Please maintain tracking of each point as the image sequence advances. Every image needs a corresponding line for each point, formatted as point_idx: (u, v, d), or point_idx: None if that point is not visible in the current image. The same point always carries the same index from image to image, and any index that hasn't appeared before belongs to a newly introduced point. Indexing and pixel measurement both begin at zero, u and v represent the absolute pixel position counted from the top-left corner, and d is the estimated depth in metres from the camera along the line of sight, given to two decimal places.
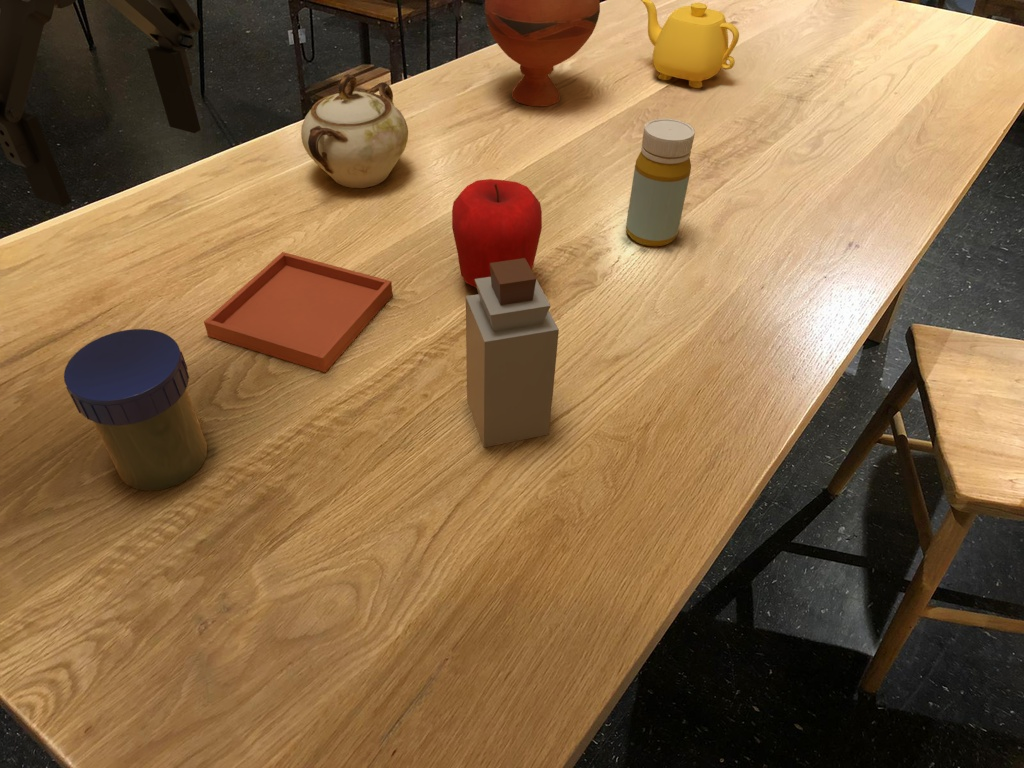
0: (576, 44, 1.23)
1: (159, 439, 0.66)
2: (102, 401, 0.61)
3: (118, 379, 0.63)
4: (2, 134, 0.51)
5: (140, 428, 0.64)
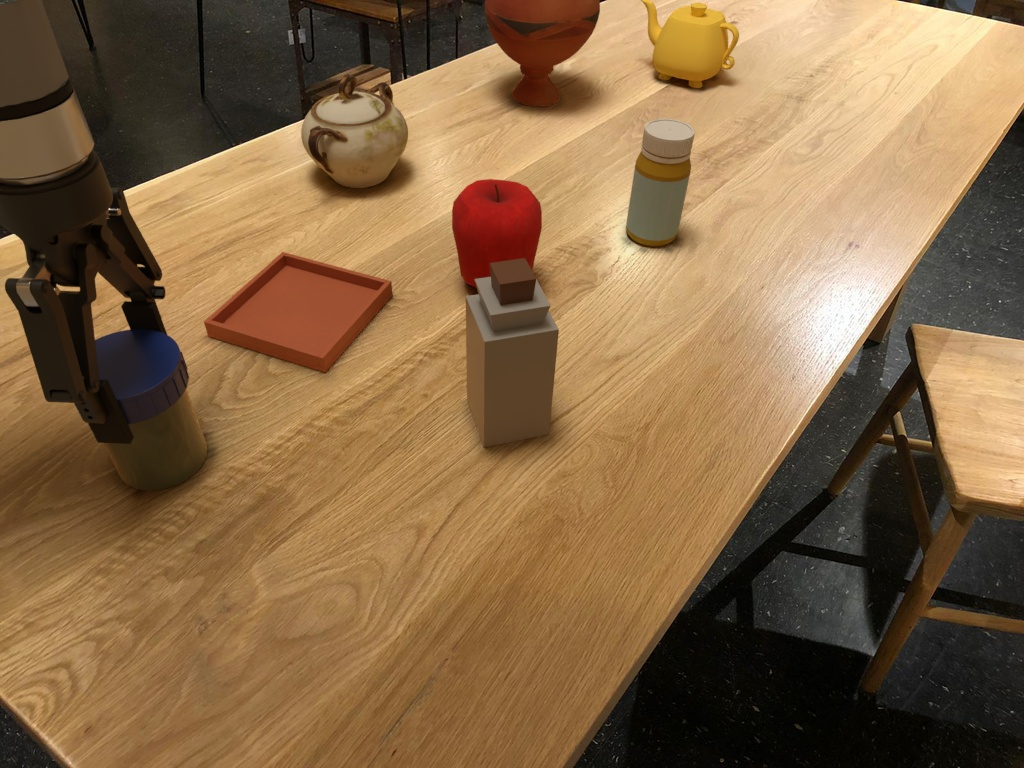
0: (576, 44, 1.23)
1: (159, 439, 0.66)
2: None
3: (118, 379, 0.63)
4: None
5: (140, 428, 0.64)
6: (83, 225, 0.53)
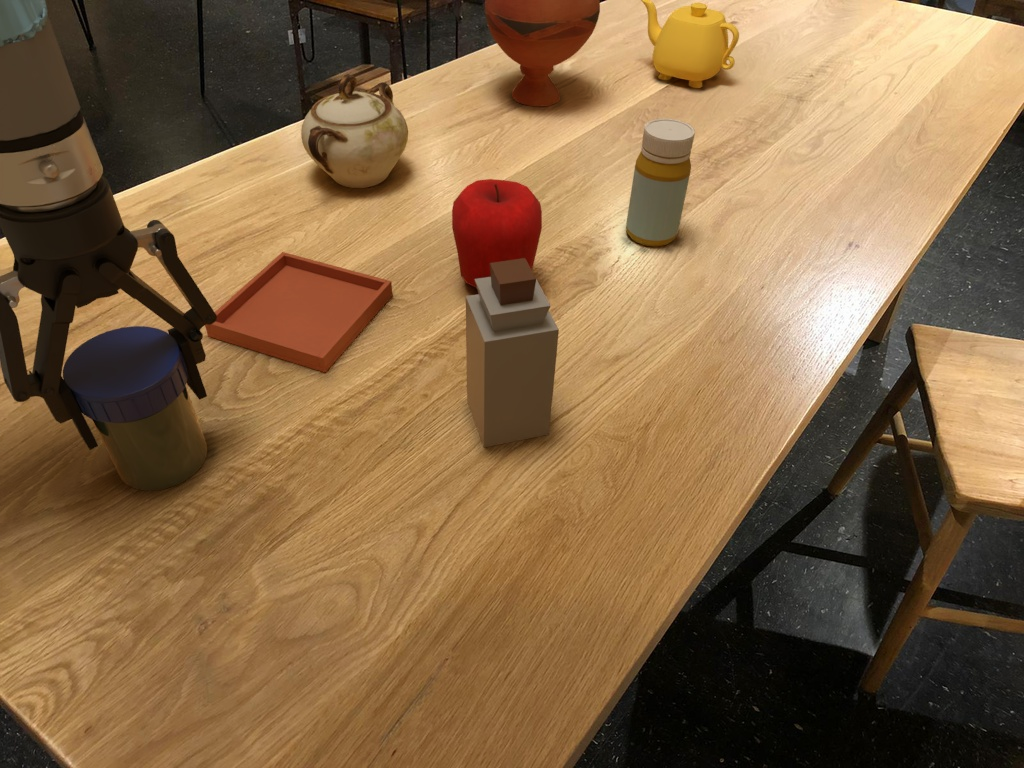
0: (576, 44, 1.23)
1: (159, 439, 0.66)
2: None
3: (143, 347, 0.65)
4: None
5: (140, 428, 0.64)
6: None
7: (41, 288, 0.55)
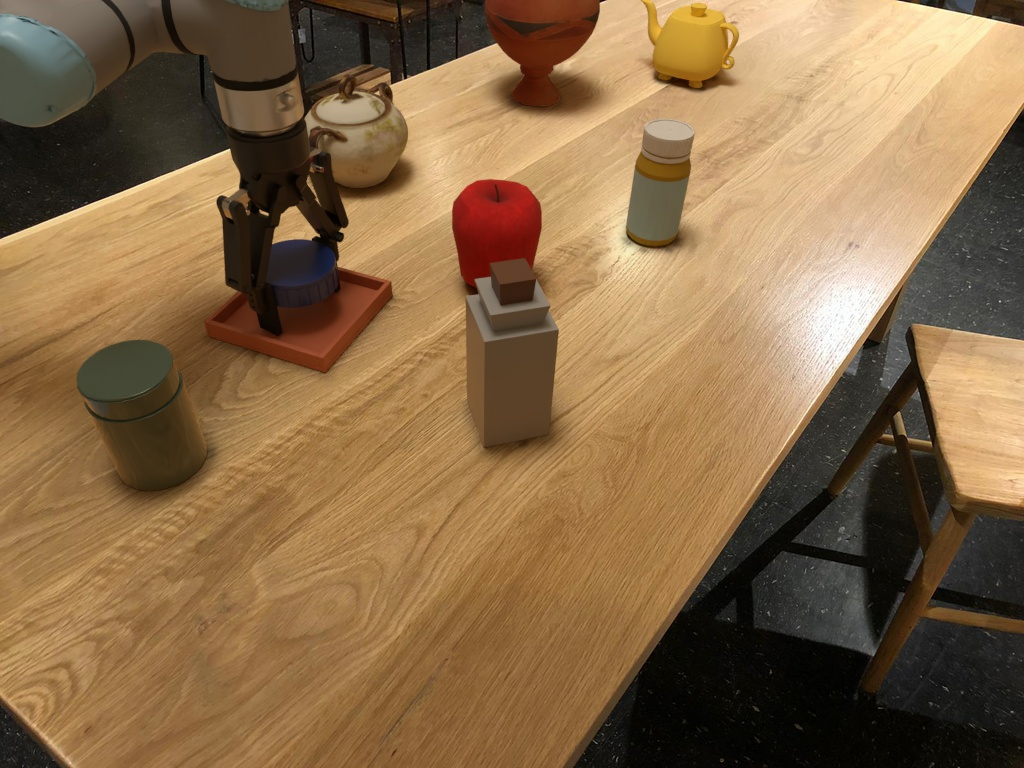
0: (576, 44, 1.23)
1: (159, 439, 0.66)
2: (320, 243, 0.87)
3: (302, 252, 0.85)
4: (250, 295, 0.80)
5: (140, 428, 0.64)
6: None
7: (262, 199, 0.75)
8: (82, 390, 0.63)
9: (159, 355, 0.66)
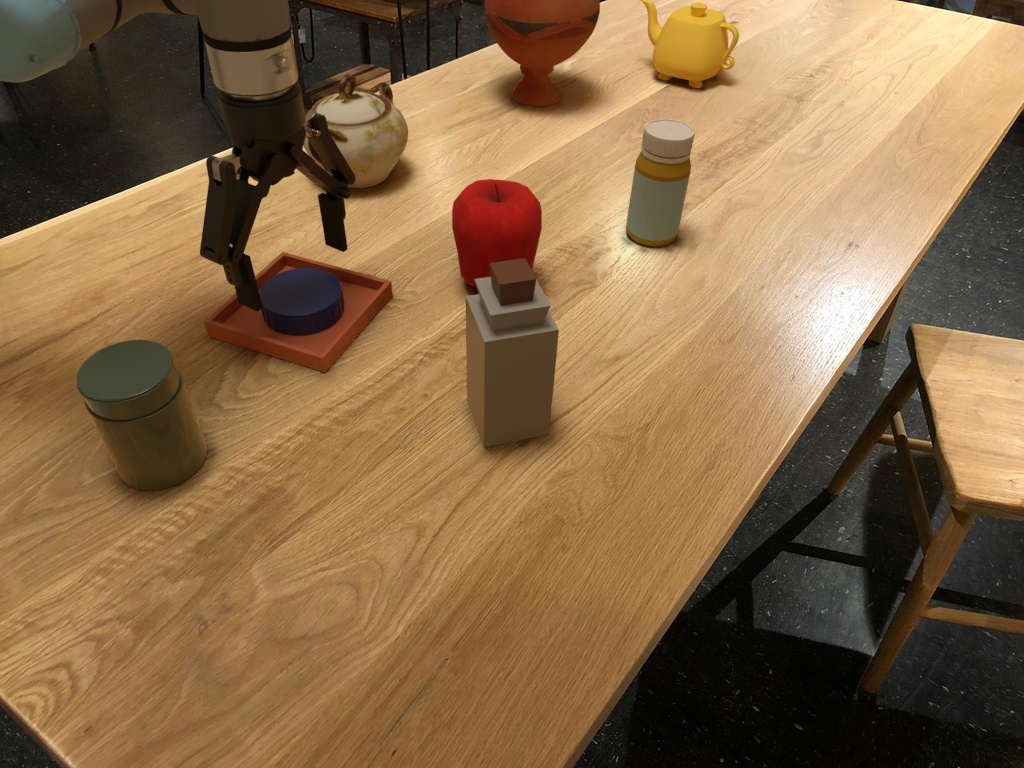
0: (576, 44, 1.23)
1: (159, 439, 0.66)
2: (326, 271, 0.90)
3: (309, 281, 0.88)
4: (227, 267, 0.76)
5: (140, 428, 0.64)
6: None
7: (255, 168, 0.73)
8: (82, 390, 0.63)
9: (159, 355, 0.66)
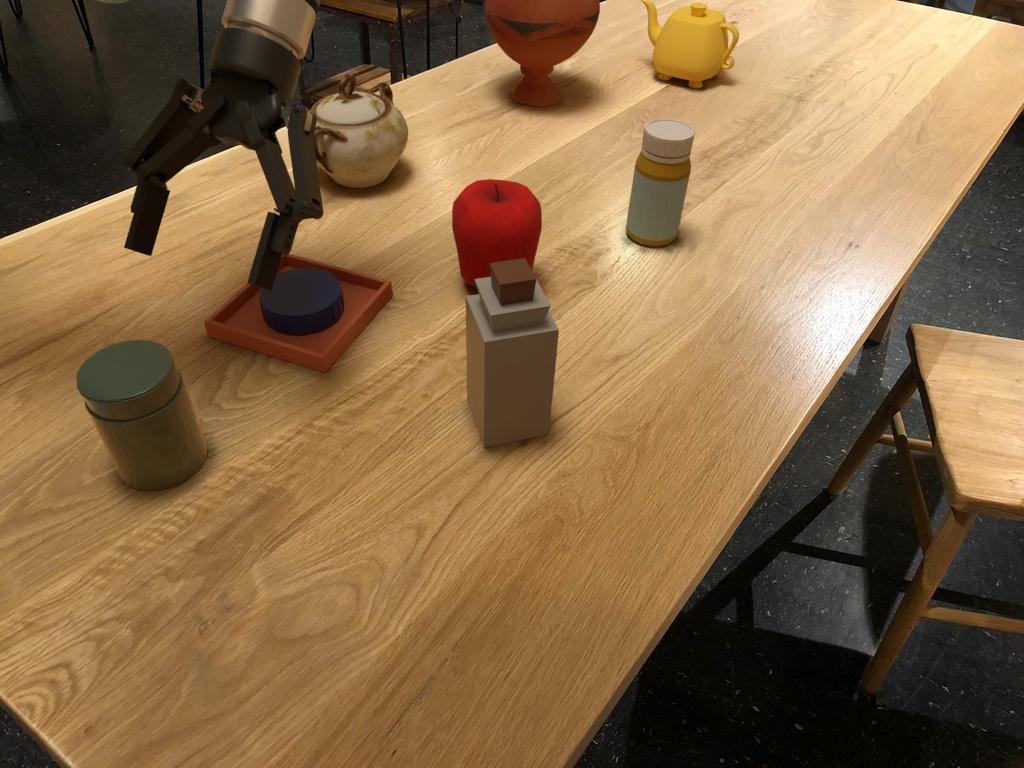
0: (576, 44, 1.23)
1: (159, 439, 0.66)
2: (326, 271, 0.90)
3: (309, 281, 0.88)
4: (291, 229, 0.67)
5: (140, 428, 0.64)
6: (211, 64, 0.67)
7: None
8: (82, 390, 0.63)
9: (159, 355, 0.66)
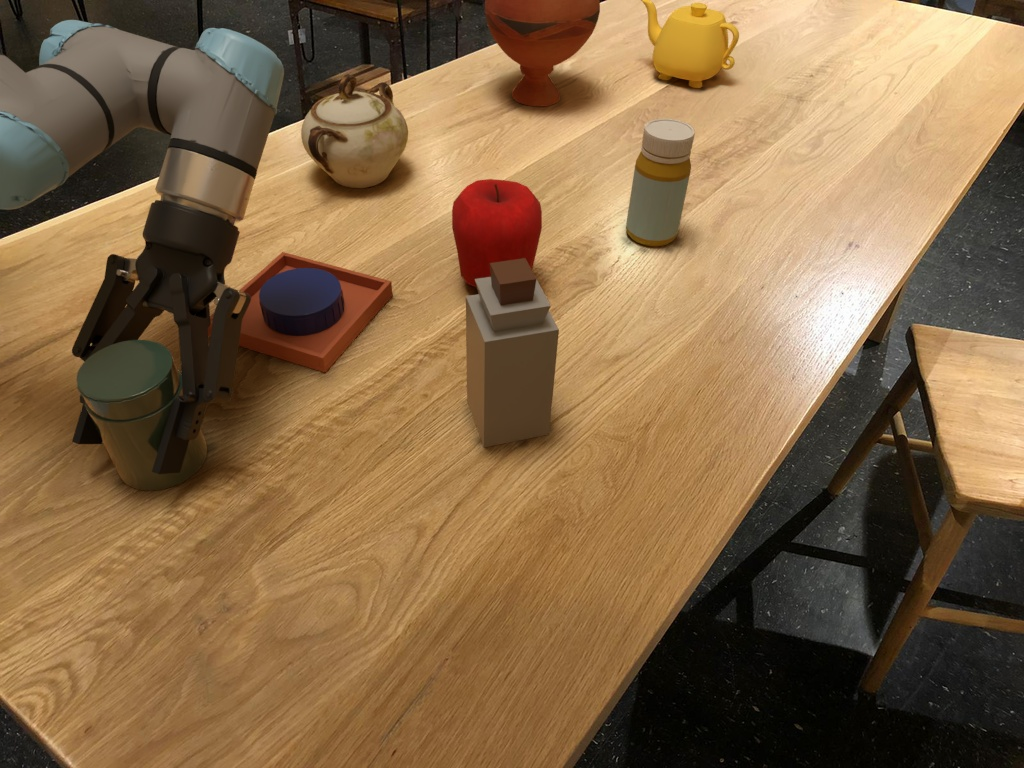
0: (576, 44, 1.23)
1: (159, 439, 0.66)
2: (326, 271, 0.90)
3: (309, 281, 0.88)
4: (197, 414, 0.66)
5: (140, 428, 0.64)
6: (143, 236, 0.66)
7: None
8: (82, 390, 0.63)
9: (159, 355, 0.66)
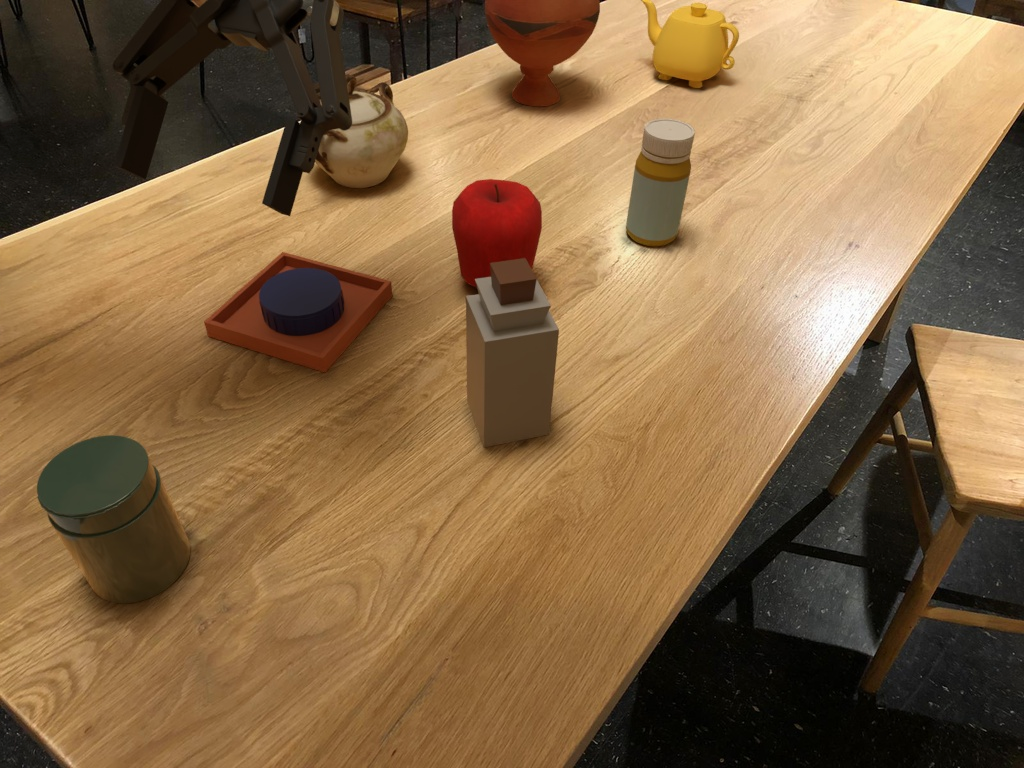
0: (576, 44, 1.23)
1: (133, 551, 0.58)
2: (326, 271, 0.90)
3: (309, 281, 0.88)
4: (314, 140, 0.57)
5: (110, 542, 0.56)
6: None
7: None
8: (43, 502, 0.54)
9: (133, 455, 0.58)
